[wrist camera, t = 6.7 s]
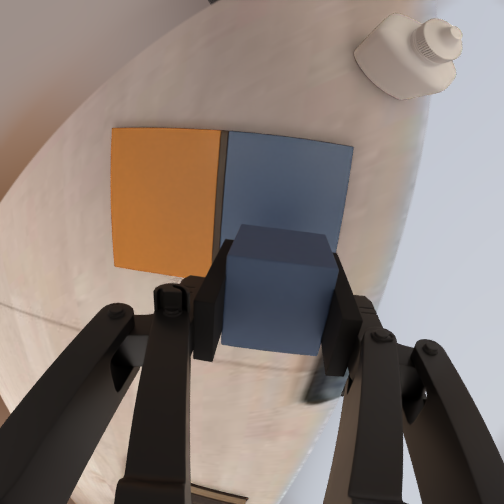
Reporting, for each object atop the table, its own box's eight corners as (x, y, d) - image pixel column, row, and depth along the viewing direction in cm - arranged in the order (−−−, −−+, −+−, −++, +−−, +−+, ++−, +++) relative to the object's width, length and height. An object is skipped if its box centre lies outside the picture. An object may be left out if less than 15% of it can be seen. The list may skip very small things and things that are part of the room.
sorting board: (115, 128, 24) (111, 128, 24) (352, 146, 23) (354, 147, 22) (116, 264, 29) (113, 267, 28) (325, 293, 28) (326, 296, 27)
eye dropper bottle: (394, 35, 19) (463, -17, 8) (418, 96, 21) (505, 82, 10) (347, 44, 20) (394, -15, 9) (373, 107, 22) (443, 93, 11)
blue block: (241, 223, 17) (226, 254, 12) (325, 234, 16) (339, 269, 12) (234, 298, 18) (220, 345, 14) (311, 307, 18) (317, 357, 14)
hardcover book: (129, 461, 44) (125, 470, 42) (248, 497, 45) (247, 507, 43) (126, 486, 50) (123, 494, 48) (224, 517, 51) (223, 525, 49)
